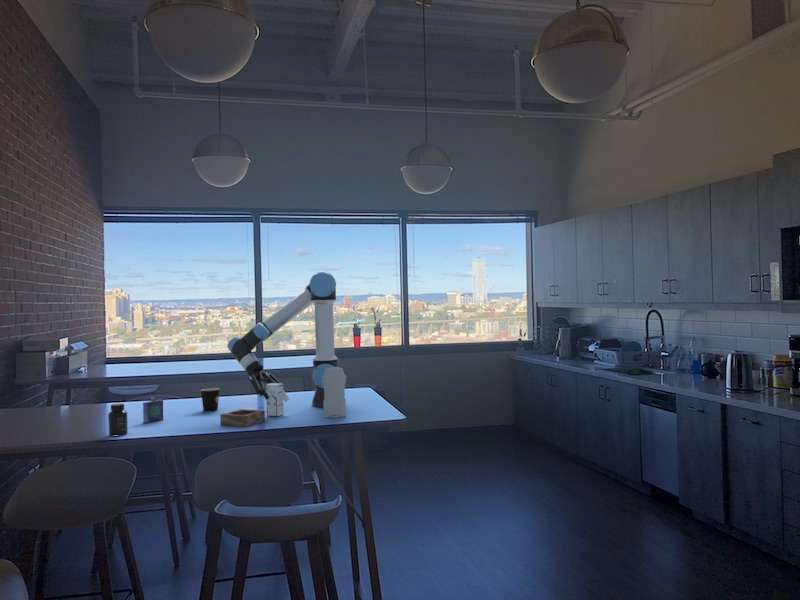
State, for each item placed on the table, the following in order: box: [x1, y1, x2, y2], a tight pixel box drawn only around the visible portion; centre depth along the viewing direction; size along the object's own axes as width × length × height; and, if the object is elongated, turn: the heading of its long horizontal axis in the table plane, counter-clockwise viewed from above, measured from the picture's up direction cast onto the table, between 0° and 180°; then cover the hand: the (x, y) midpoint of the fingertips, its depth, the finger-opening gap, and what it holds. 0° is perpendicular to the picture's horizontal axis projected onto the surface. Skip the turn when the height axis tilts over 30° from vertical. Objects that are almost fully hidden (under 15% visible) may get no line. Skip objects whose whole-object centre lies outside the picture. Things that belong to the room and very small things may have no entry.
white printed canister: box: [265, 382, 285, 417], centre depth 283 cm, size 6×6×14 cm
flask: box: [142, 396, 164, 424], centre depth 275 cm, size 9×3×11 cm, turn 142°
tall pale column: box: [322, 367, 347, 419], centre depth 277 cm, size 11×4×22 cm, turn 102°
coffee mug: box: [200, 387, 220, 412], centre depth 300 cm, size 12×9×10 cm
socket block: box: [219, 408, 266, 428], centre depth 267 cm, size 13×13×4 cm
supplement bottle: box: [107, 403, 129, 436], centre depth 250 cm, size 7×7×12 cm
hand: (280, 401), depth 281 cm, fingers open, 9 cm apart
